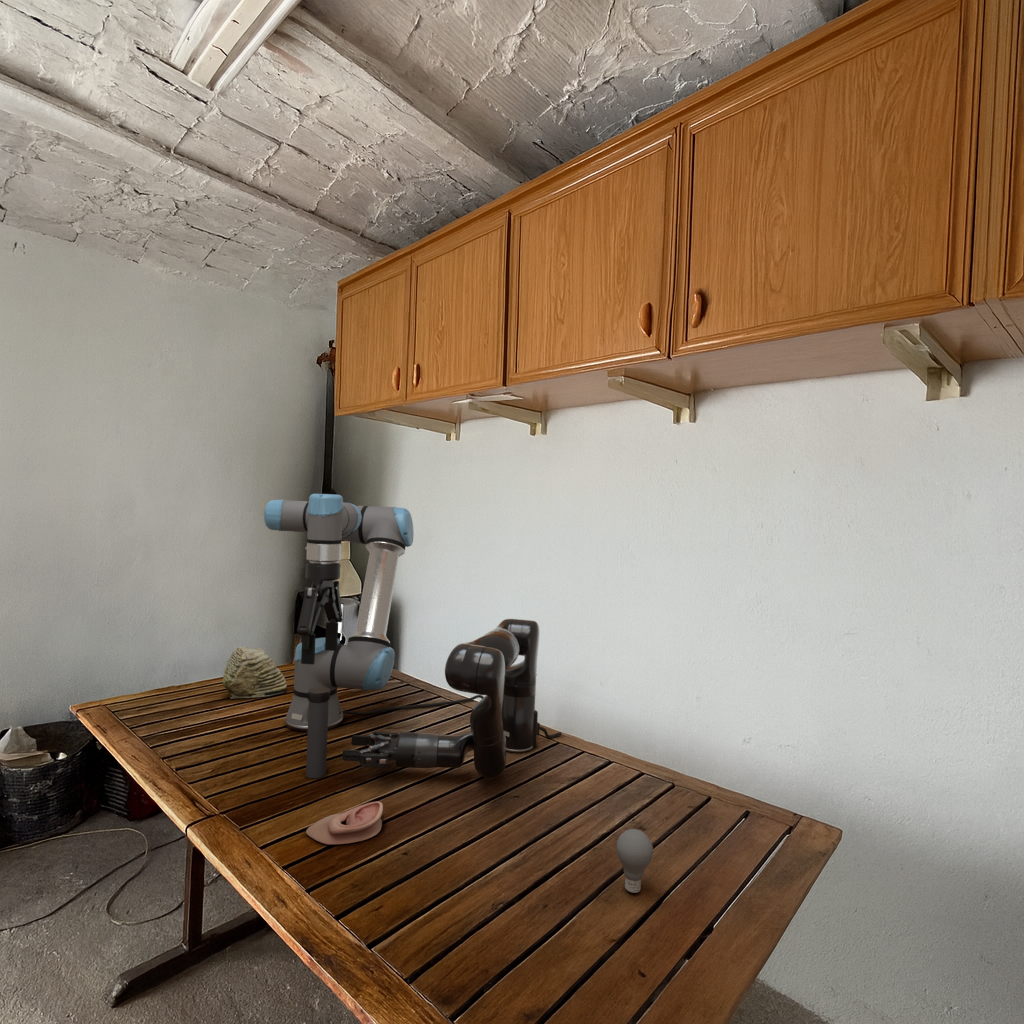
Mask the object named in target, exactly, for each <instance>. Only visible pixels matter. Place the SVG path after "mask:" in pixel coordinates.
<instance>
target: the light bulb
mask: <svg viewBox="0 0 1024 1024" xmlns="http://www.w3.org/2000/svg"><path fill="white" fill-rule="evenodd" d="M615 849H616V854H617V857H618V859H619V861H620V863H621V865H622V867H623V873H624V874H623V875H624V876H625V878H624V888H625V890H627V891H628V892H630V893H634V894H635V893H639V892H640V891H641V889H642V887H641V886H642V879H643V877H644V875H645V871H646V868H647V867H648V866H649V864H650V863H651V861H652V859H653V855H654V847H653V843H652V841H651V838H649V836H648V835H647V834H646V833H645V832H643V831H642V830H641V829H636V828H629V829H627V830H625V831H623V832H622V833H621V834H620V835H619V837H618V839H617V841H616V847H615Z"/></svg>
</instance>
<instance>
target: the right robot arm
mask: <svg viewBox="0 0 1024 1024" xmlns="http://www.w3.org/2000/svg"><path fill="white" fill-rule="evenodd" d="M539 644H540V626H539V623H538V622H537V621H535V620H531V619H521V618H506V619H505V618H504V619H503V620H501V622H499V624H497V626H496V627H495V628H494V629H492V630H490V631H488V632H487V633H484V634H483V635H482V636H479V637H478V638H476V639H474V640H471V641H468V642H467V641H466V642H462V643H459V644H457V645H456V646H455V647H454V648H453V649H452V650H451V652H449V654H448V657H447V659H446V662H445V668H444V677H445V680H446V683H447V685H448V686H449V687H450V688H451V689H452V690H454V691H457V692H462V693H468V694H474V695H482V696H483V697H484V698H483V699H480V700H479V701H478V702H477V703H476V704H475V705H474V706H473V708H472V710H471V712H470V716H469V726H470V727H469V728H470V732H467V733H461V734H456V735H455V734H437V733H431V732H412V731H411V732H410V731H409V732H408V731H400V732H399V733H398V732H390V731H389V732H388V731H373V732H372V733H369V734H368V735H363V734H361V735H360V734H353V735H352V736H351V745H352V746H355V747H356V746H358V747H368V748H365V749H343V750H342V753H341V759H342V761H345V762H358V763H359V766H360V767H361V768H387V767H389V761H395V766H396V767H397V768H409V769H433V768H439V769H440V768H441V769H458V768H461V767H462V766H463V764H464V762H465V759H466V756H467V755H468V753H470V752H472V751H473V766H474V769H475V771H476V773H477V774H479V775H480V776H481V777H483V778H485V779H488V780H489V779H490V780H491V779H495V778H498V777H500V776H501V775H502V774H503V773H504V771H505V770H506V764H507V752H509V753H526V752H529V751H531V750H533V749H536V748H537V738H538V736H540V731H541V732H543V733H544V736H545V737H546V738H547V739H554V738H557V737H559V736H562V732H561V731H558V732H556V733H554V734H549V733H548V730H547V729H546V728H545V727H543V726H540V725H541V723H540V722H538V719H539V718H538V716H539V711H538V710H536V695H537V694H536V693H537V671H538V670H537V668H538V655H539ZM519 656H522V657H524V659H523V660H522V661H521V662H518V663H516V664H514V663H515V662H516V661H517V659H518V657H519Z"/></svg>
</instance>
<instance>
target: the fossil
mask: <svg viewBox="0 0 1024 1024" xmlns="http://www.w3.org/2000/svg"><path fill="white" fill-rule="evenodd" d="M222 676H223V677H222V685H223V687H224V688H225V690H226V691H228V693H229V698H230V699H250V698H264V697H271V696H275V695H281V694H284V693H285V691H286V689H287V687H288V686H287V680H286V678H285V676H284V674H283V673H282V672H281V669H279V668H278V667H277V665H276V663H275V662H274V660H273V659H272V658H271V657H270V656H269V655H268V654H267V653H266V652H265V650H264V649H263V648H260V647H258V648H251V647H247V646H246V647H245V646H238V647H237V648H236V649H235V650H233V651H232V653H231V656H230V657H229V659H228V660H227V663H226V666H225V668H224V671H223V675H222Z"/></svg>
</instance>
